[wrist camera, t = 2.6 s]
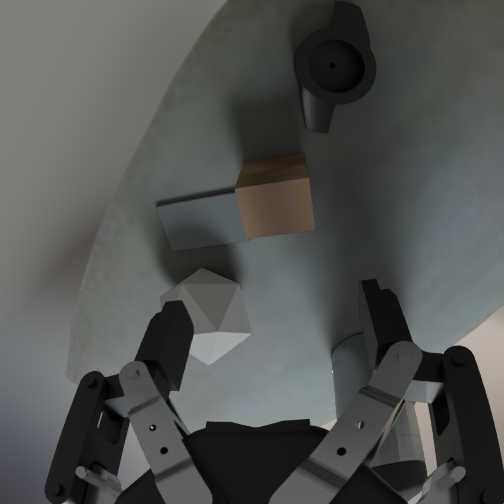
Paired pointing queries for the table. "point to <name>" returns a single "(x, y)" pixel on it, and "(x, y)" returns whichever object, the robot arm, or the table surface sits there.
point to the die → (212, 313)
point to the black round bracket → (345, 66)
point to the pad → (202, 222)
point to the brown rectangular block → (275, 196)
